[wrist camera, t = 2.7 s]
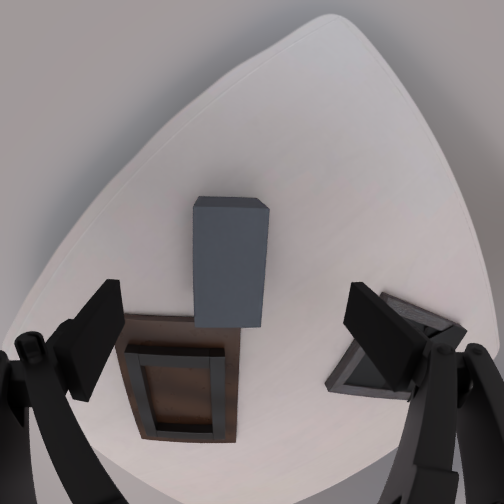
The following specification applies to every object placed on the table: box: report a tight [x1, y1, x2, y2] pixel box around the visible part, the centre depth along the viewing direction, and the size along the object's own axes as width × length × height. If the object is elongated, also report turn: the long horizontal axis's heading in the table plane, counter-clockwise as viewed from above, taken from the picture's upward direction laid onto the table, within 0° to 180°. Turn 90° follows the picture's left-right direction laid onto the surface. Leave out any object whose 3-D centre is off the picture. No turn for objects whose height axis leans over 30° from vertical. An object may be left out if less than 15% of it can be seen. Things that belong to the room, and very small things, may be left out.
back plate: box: [115, 314, 240, 443], centre depth 29 cm, size 20×13×2 cm, turn 177°
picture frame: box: [325, 292, 467, 400], centre depth 32 cm, size 13×2×18 cm
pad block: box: [193, 196, 270, 328], centre depth 23 cm, size 9×5×6 cm, turn 177°
